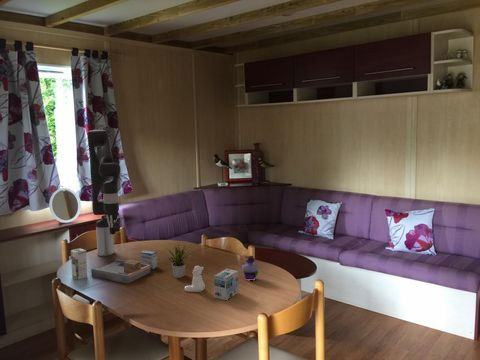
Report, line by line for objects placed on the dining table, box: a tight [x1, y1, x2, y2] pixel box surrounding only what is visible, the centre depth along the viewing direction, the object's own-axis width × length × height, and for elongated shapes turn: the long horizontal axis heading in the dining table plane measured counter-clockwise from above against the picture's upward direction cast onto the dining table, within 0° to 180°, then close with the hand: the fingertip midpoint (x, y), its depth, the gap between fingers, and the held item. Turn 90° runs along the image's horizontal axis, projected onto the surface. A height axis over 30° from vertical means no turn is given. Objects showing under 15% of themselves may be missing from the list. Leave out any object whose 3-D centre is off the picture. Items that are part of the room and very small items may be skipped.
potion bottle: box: [241, 255, 260, 279], centre depth 218 cm, size 9×9×12 cm
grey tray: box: [90, 258, 152, 284], centre depth 228 cm, size 18×24×4 cm
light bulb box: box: [214, 268, 240, 301], centre depth 198 cm, size 11×7×11 cm, turn 148°
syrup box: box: [70, 248, 88, 281], centre depth 222 cm, size 6×6×14 cm
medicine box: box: [139, 250, 158, 270], centre depth 238 cm, size 8×4×9 cm, turn 68°
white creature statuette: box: [184, 265, 206, 293], centre depth 205 cm, size 10×9×12 cm
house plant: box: [166, 245, 194, 279], centre depth 223 cm, size 14×14×16 cm
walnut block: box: [124, 259, 141, 273], centre depth 224 cm, size 5×7×5 cm
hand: (112, 234), depth 227 cm, fingers closed
